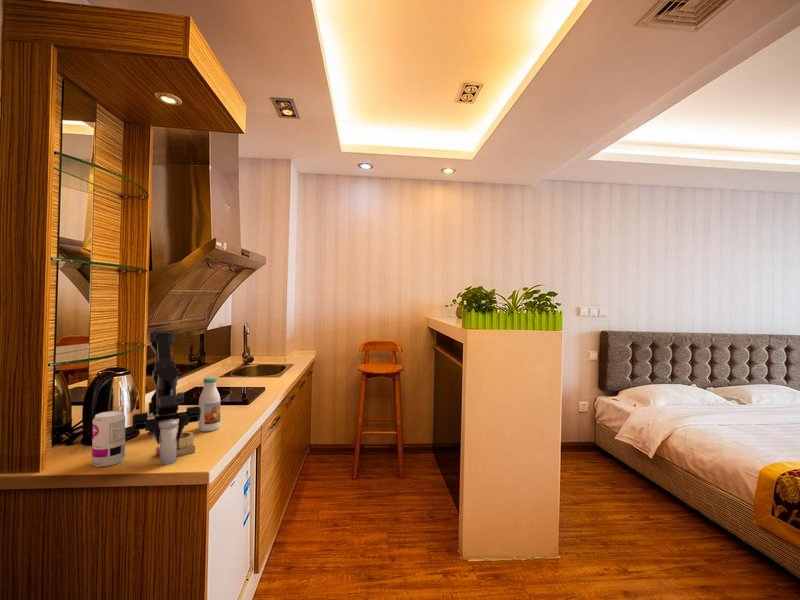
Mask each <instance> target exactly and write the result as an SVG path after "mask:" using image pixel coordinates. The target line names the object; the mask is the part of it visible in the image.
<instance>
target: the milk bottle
mask: <svg viewBox="0 0 800 600" xmlns="http://www.w3.org/2000/svg"><path fill="white" fill-rule="evenodd" d="M216 384H217V377H215V376H210V377H209V376H208V377H204V378H203V389H202V391H201V393H200V395H199V399H198V406H199V407H200V408H201V415H200V420H199V421H198V422H197V423H198V431H200V432H205V433H206V432H213V431H216V430H218V429H220V428H221V396H220V395H221V394H220V393H219V391H218V388H217V385H216Z"/></svg>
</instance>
